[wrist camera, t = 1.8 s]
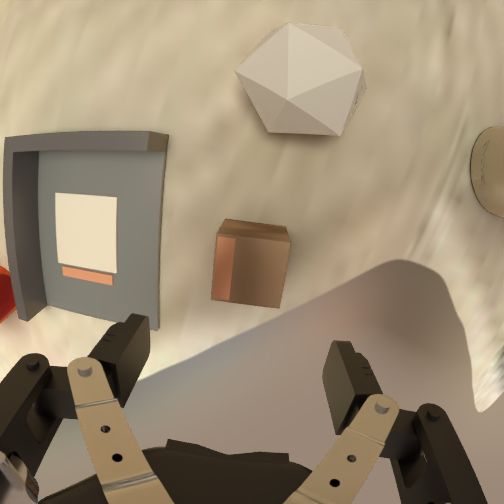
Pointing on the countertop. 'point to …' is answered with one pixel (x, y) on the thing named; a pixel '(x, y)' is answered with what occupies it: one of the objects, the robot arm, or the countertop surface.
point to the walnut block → (250, 263)
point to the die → (303, 79)
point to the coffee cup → (6, 295)
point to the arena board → (85, 222)
